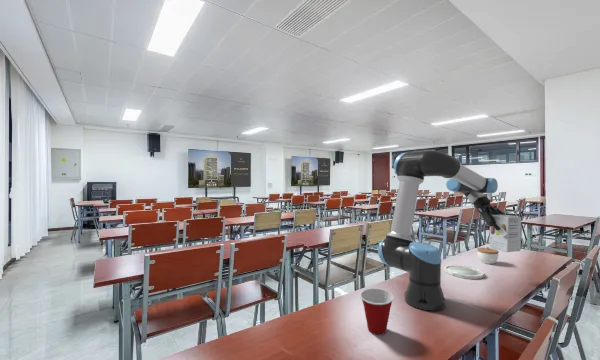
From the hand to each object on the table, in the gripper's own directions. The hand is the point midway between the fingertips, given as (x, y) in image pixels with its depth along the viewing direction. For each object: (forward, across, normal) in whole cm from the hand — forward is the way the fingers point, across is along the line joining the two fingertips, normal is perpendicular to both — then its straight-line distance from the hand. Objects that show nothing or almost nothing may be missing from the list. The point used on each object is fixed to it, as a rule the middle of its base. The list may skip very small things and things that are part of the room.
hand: (511, 234), depth 134 cm
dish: (+3, +8, -30) cm, 31 cm away
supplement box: (+4, 0, -8) cm, 9 cm away
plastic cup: (+21, +89, -14) cm, 92 cm away
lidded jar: (-1, -23, -34) cm, 41 cm away
